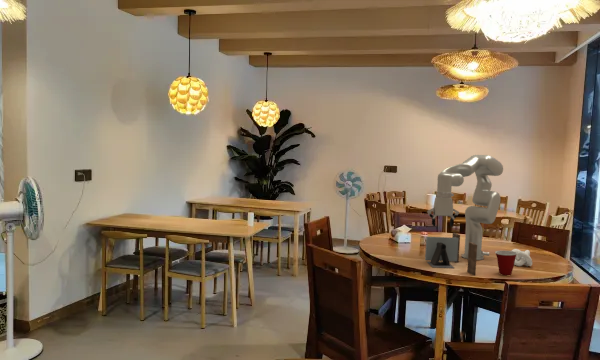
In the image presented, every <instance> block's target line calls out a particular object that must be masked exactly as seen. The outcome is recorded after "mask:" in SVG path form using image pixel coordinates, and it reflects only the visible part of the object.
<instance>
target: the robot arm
mask: <svg viewBox="0 0 600 360" xmlns="http://www.w3.org/2000/svg"><path fill="white" fill-rule="evenodd" d="M503 171H504V165H503V164H502V162H501V161H499V160H498V159H496V158H495V157H494V156H492V155H488V154H473V155H471V156H470V157H468V158H466V160H464V161H463V162H462V163H459V164H455V165H452V166H449V167H447V168H445V169H443V170H442V171H441V172H440V173H438V174H437V188H436V197H434V201H433V207H432V208H430V209H428V210H426V211H427V214H428V216H429V217H430V218H431V225H432V226H433V227H436V218H437V216H438V217H450V219H449V227H453V226H454V223H455V219H456V218H457V217H458V215H459V214H460V211H459V210H456V208H454V203H453V198H452V197H454V195H455V194H454V193H452V187H460V186H462V185H463V184H464V181H465V180H464V179H465V178H466V177H470V176H471V175H472V174H474V173H475V177H476V181H477V182H476V186H475V189H474V192H473V195H472V203H473V204H474V205H471V206H468V207H466V208H465V211H464V215H465V216H464V218H465V235H464V236H465V239H464V253H462V254H461V257H462V258H463V259H466V260H468V250H469V242H473V243H475V244H477V258H476V261H480V260H484V259H485V258H484V256H487V257H488V256H490V252H486V251H483V250H482V245H483V227H482V224H485V225H492V224H493V223H494V222H495V220H496V218H497V214H498V211H499V209H500V205H501V195H500V193H499V192H497V191H493V190H491V189H492V186H493V185H492V184H493V183H492V180H491V179H490V178H489V176H492V177H498V176H502V174H503ZM476 205H477V206H476ZM454 213H455V214H454ZM453 214H454V215H453Z"/></svg>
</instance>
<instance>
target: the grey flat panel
mask: <svg viewBox="0 0 600 360" xmlns="http://www.w3.org/2000/svg"><path fill="white" fill-rule="evenodd" d="M438 242H439V243H440V242H441V243H443V244H445V245H446V252H447V256H448V259H449V262H454V261H457V253H458V238H452V237H450V236H449V237H448V236H426V238H425V256H424V260H425V261H431V260H432V257H433V255H434V252H435V250H436V247H437V245H436V244H437V243H438ZM439 262H442V257H441V256H440V260H439Z"/></svg>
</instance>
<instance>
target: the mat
mask: <svg viewBox="0 0 600 360" xmlns="http://www.w3.org/2000/svg"><path fill="white" fill-rule="evenodd" d="M430 262H431V261H426V263H427V264H428V265H429V266H430V267H431V268H434V269H435V268H437V269H455V267H454V266H453V265H452V264H450V266H443V265H442V266H435V265H433V264H432V263H430Z"/></svg>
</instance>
